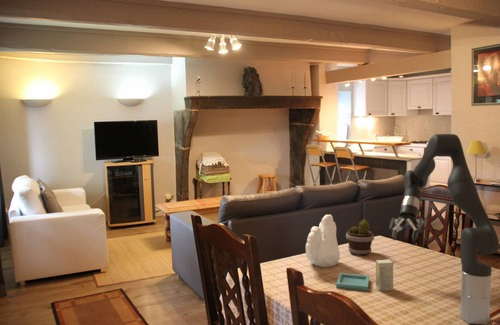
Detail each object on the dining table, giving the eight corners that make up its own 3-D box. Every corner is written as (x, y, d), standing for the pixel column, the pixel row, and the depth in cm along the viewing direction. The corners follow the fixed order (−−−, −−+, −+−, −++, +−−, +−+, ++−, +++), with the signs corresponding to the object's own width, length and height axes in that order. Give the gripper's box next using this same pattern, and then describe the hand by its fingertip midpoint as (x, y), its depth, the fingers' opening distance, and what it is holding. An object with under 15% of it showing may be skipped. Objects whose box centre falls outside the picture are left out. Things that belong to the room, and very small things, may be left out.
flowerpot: (340, 250, 231) (340, 214, 230) (364, 247, 236) (365, 212, 234) (354, 258, 218) (354, 220, 216) (379, 255, 222) (380, 218, 220)
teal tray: (367, 291, 176) (367, 286, 176) (336, 288, 180) (336, 283, 180) (369, 280, 188) (369, 275, 188) (339, 277, 192) (339, 272, 192)
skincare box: (389, 286, 181) (390, 259, 179) (393, 290, 176) (394, 262, 175) (374, 287, 180) (375, 259, 179) (378, 291, 176) (378, 262, 175)
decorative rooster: (322, 256, 222) (322, 210, 219) (347, 264, 210) (347, 215, 207) (289, 267, 206) (289, 217, 203) (314, 276, 194) (314, 223, 191)
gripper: (391, 204, 194) (384, 234, 186) (422, 203, 184) (417, 235, 176) (397, 213, 198) (390, 243, 190) (428, 212, 189) (423, 244, 180)
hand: (403, 239), depth 183 cm, fingers open, 8 cm apart
